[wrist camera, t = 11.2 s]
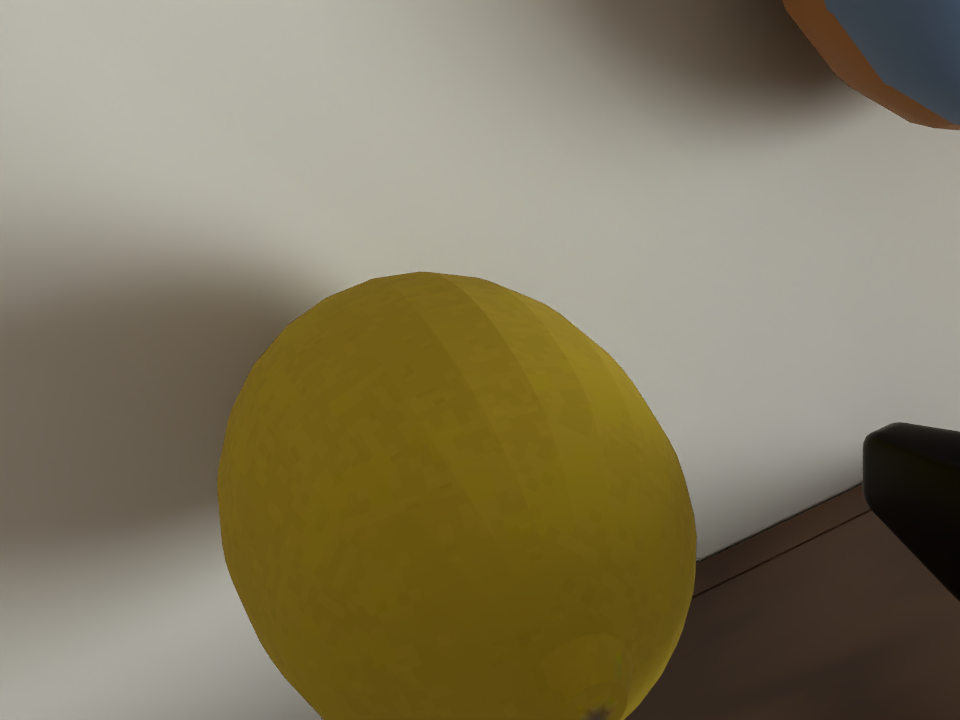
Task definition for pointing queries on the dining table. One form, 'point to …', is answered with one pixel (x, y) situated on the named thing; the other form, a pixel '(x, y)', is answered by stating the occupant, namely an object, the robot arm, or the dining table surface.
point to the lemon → (454, 510)
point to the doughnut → (891, 52)
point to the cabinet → (814, 628)
